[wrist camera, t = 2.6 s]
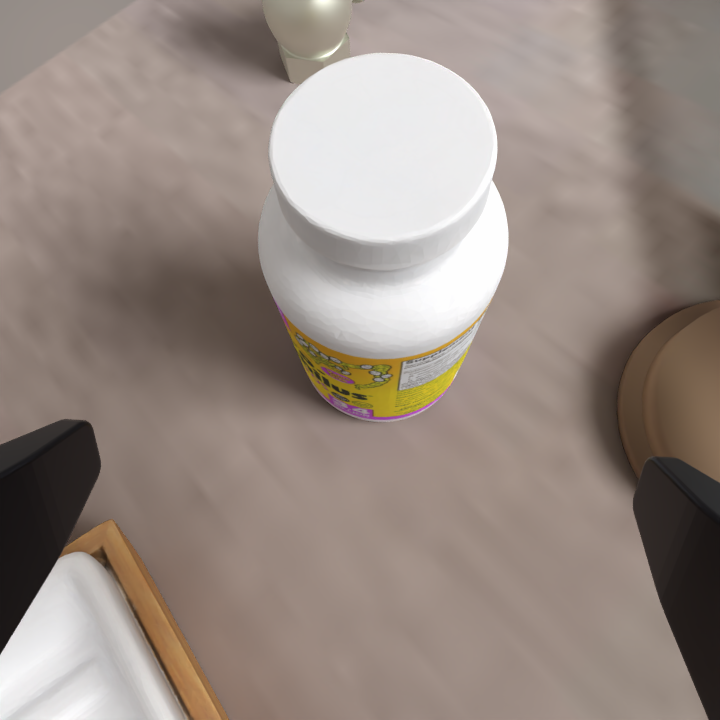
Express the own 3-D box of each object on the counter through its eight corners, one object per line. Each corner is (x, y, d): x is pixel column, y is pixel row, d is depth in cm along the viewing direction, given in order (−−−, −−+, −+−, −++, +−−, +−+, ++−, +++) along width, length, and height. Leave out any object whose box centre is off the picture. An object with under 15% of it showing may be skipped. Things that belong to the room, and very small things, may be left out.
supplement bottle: (275, 329, 24) (162, 101, 11) (402, 254, 24) (422, -30, 12) (358, 459, 22) (326, 353, 9) (492, 372, 23) (620, 174, 10)
